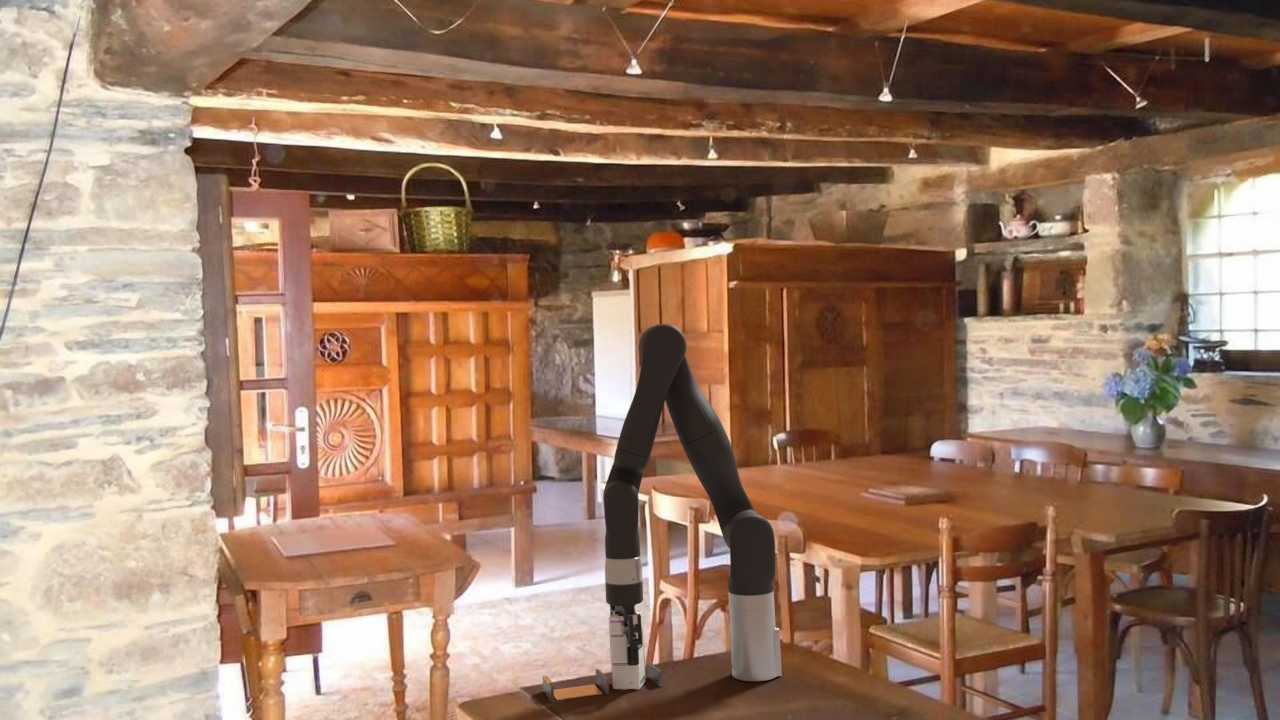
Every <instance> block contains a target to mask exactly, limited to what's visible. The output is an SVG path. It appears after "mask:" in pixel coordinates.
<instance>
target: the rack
mask: <svg viewBox="0 0 1280 720" xmlns="http://www.w3.org/2000/svg"><path fill="white" fill-rule="evenodd" d="M646 664H647V678H649V679H650V678H651V679H652V680H653V681H654V684H655V685H657V684H658V685H659V686H662V687H663V677H662V670H660V669H659V668H658V667H657V666H655V665H654V664H653V663H651V662H650V661H647V663H646ZM595 679H596V680H595V682H596V685H597V686H598V687H597V686H596V685H595V684H594V683H593V684H586V685H580V686H571V687H565V688H556V689H555V688H554V685H553V681H552V680H551V679H550V677H549V676H548V675H543V676H542V691H543V693H544V695H546V697H547V698H548V699H549V701H550V702H551V703H554V702H555V700H556V701H561V700H562V701H563V700H568V699H576V698H583V697H591V696H597V695H603V692H604V693H605V694H606V695H609V694H610V690H609V687H610V686H609V678H608V677H607V676H606V675H605V674H604V673H603V672H602V671H601V670H600V669H599V668H596V669H595ZM651 679H650V680H651ZM652 680H651V681H652ZM653 681H652V682H653ZM658 685H657V686H658ZM659 686H658V687H659ZM599 688H600V689H599Z"/></svg>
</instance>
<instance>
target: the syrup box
mask: <svg viewBox="0 0 1280 720" xmlns="http://www.w3.org/2000/svg"><path fill="white" fill-rule="evenodd" d="M635 612H636V613H637V614H640V615H641V627H642V641H643V642H642V645H639V646H638V651H639V664H638V665H634V666H629V665H628V664H627V645H626V640H625V637H623V636H622V633H621V625H620V621H619V619H620V620H622V621H623V623H624V618H623V616H617V614H616V615H615V614H613V615H612V616H611V617H610V616H609V617H608V631H609V633H608V634H609V646H610V647H609V649H610V663H611V664H610V666H611V681H612V689H615V690H626V689H627V690H628V689H635V690H640V689H641V688H642V687H643V685H644V683H646V681H647V678H646V662H645V661H646V660H645V646H644V631H643V615H642V614H643V613H642V611H641V610H635ZM624 628H625V630H628V626H627V627H625V626H624ZM632 638H633V639H635V636H634V635H632Z"/></svg>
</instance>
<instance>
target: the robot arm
mask: <svg viewBox="0 0 1280 720" xmlns="http://www.w3.org/2000/svg"><path fill="white" fill-rule="evenodd" d="M638 352H639V355H640V358H641V363H640V364H641V365H640V371H639V377H638V382H637V386H636V389H635V393H634V395H633V398H632V401H631V404H630V405H629V408H628V411H627V413H626V416H625V419H624V421H623V424H622V427H621V431H620V434H619V437H618V442H617V445H616V448H615V452H614V456H613V458H614V459H613V463H612V465H611V469H610V471H609V474H608V476H607V480H606V483H605V486H604V490H603V494H602V497H603V499H602V501H603V511H604V522H605V537H604V548H605V549H604V550H605V554H604V555H605V563H604V579H605V581H604V582H605V602H606V604H607V605H609V618H610V617H611V616H612V615H613V614H615V615H616V614H617V616H623V618H624V623H623V621H622V620H620V619H619V621H620V625H621V633H622V636H623V637H625V640H626V645H627V664H628V665H629V666H634V665H638V664H639V651H638V646H639V645H642V642H643V643H644V640H643V641H642V627H643V626H642V627H641V615H640V614H637V613H636V612H635V611H636V608H635V607H636V605H639V604H641V603H643V601H644V587H643V586H644V584H643V582H644V581H643V565H642V560H641V540H640V533H639V514H640V513H639V511H640V509H639V506H640V505H639V502H640V501H639V498H640V497H639V492H640V486H641V483H642V480H643V476H644V472H645V470H646V469H647V467H648V464H649V462H650V458H651V455H652V451H653V449H654V448H653V447H654V443H655V440H656V436H657V433H658V429H659V423H660V420H661V416H662V412H663V408H664V405H665V403H666V406H667V410H668V413H669V416H670V419H671V422H672V423H673V427H674V429H675V432H676V434H677V436H678V438H679V439H678V440H679V442H680V444H681V446H682V449H683V451H684V453H685V455H686V457H687V459H688V461H689V464H690V465H691V468H692V469H693V472H694V473H695V474H696V477H697V479H698V480H699V482H700V484H701V486H702V488H703V489H704V491H705V492H706V495H708V498H709V500H710V503H711V505H712V508H713V510H714V513H715V516H716V519H717V522H718V525H719V528H720V532H721V535H722V538H723V540H724V543H725V544H726V546H727V548H729V559H730V560H729V561H730V563H729V564H730V571H729V577H728V578H727V587H728V589H727V590H728V610H729V611H728V612H729V613H728V614H729V632H730V636H729V637H730V654H731V658H730V659H731V672H732V673H731V675H732V677H733V678H734V679H736V680H739V681H744V682H764V681H769V680H773V679H775V678H777V677H782V656H781V655H782V654H781V636H780V635H781V634H780V632H781V631H780V628H778V627H776V615H775V613H776V612H775V611H776V610H775V594H774V593H775V591H774V589H775V587H774V583H775V578H776V540H775V533H774V529H773V526H772V524H771V523H770V522H769V520H767V519H766V518H765V517H764V516H762V515H761V514H759V512H758V511H757V510H756V508H754V506H753V504H752V501H750V499H749V497H748V495H747V493H746V491H745V489H744V487H743V485H742V482H741V479H740V475H739V469H738V465H737V462H736V457H735V453H734V450H733V446H732V445H731V441H730V439H729V436H728V435H727V432H726V430H725V428H724V426H723V424H722V421H721V419H720V417H719V416H718V414H717V412H716V411H715V409H714V408H713V406H712V403H710V402H709V400H708V399H707V396H705V394H704V393H703V391H702V389H700V387H699V384H698V383H697V382H696V380H695V378H694V374H693V372H692V370H691V368H690V365H689V362H688V359H687V356H686V353H687V340H686V337H685V335H684V334H683V332H682V331H681V330H680V329H679V328H678V327H677V326H675V325H672V324H669V323H659V324H655V325H652V326H650V327H648V328H647V329H646V330H645V331H644V332H643V333H642V334H641V336H640V338H639V342H638ZM624 626H625V627H627V626H628V630H625V628H624ZM632 635H634V636H635V639H633V638H632Z"/></svg>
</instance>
